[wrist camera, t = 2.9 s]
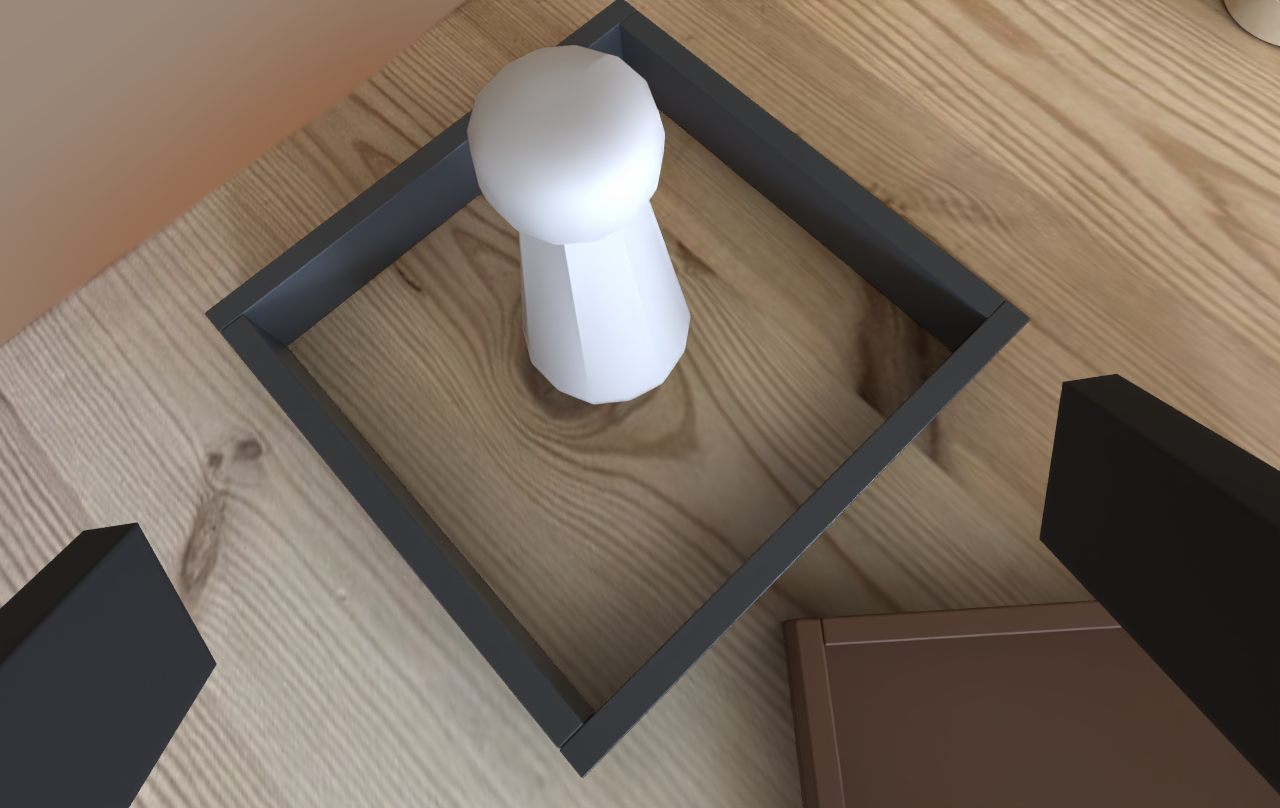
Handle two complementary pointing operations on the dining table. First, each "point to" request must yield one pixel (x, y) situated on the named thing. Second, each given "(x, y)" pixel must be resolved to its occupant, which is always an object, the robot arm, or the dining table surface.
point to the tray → (1000, 715)
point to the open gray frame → (447, 182)
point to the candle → (1257, 17)
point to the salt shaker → (583, 218)
